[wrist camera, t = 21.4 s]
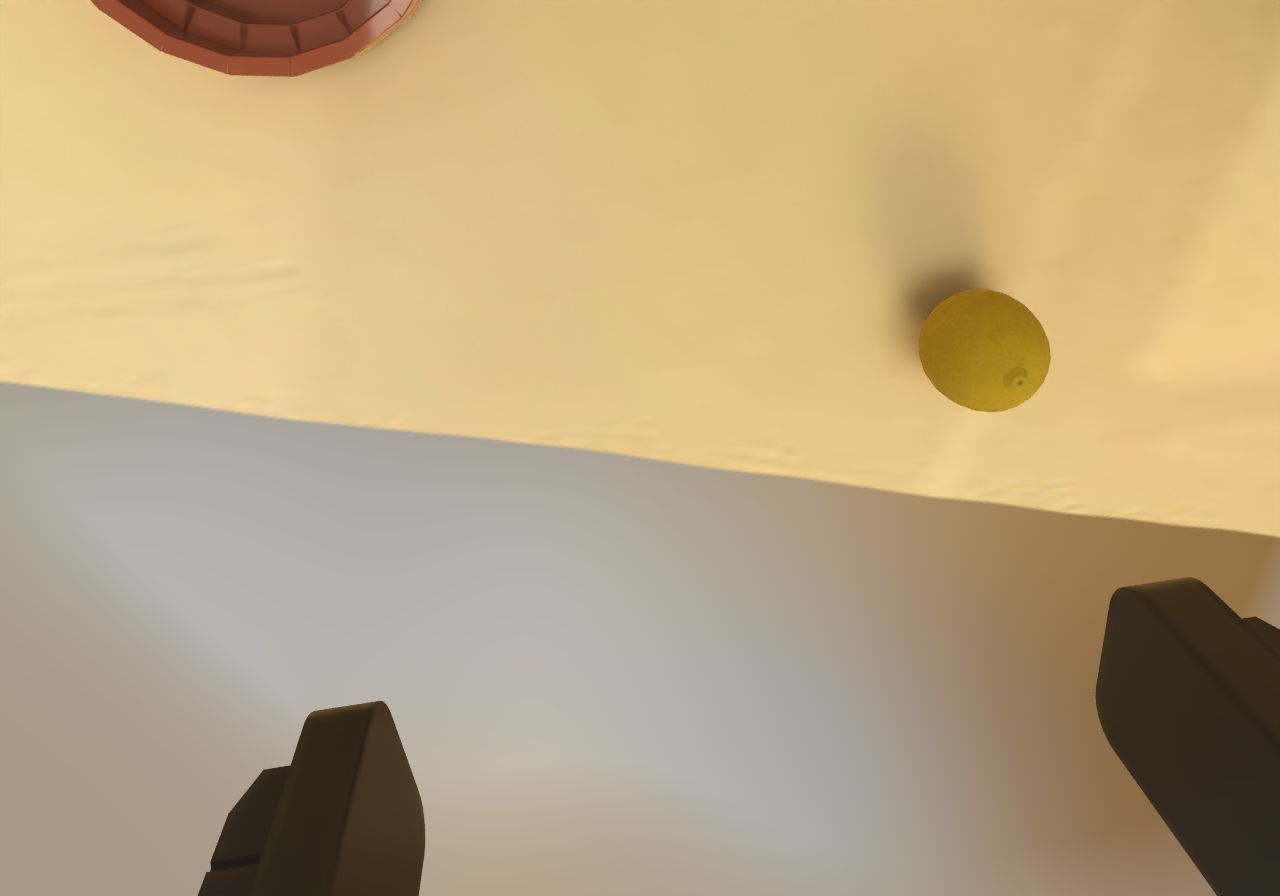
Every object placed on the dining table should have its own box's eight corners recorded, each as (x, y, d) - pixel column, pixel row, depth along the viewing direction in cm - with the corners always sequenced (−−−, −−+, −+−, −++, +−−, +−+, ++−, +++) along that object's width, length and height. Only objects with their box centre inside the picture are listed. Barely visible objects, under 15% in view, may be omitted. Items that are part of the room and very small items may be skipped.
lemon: (899, 379, 49) (959, 448, 42) (895, 281, 46) (959, 337, 39) (999, 359, 49) (1077, 425, 42) (1001, 260, 46) (1085, 313, 39)
